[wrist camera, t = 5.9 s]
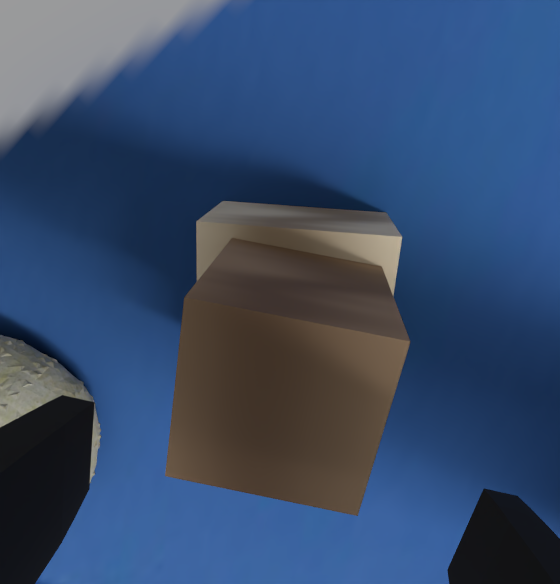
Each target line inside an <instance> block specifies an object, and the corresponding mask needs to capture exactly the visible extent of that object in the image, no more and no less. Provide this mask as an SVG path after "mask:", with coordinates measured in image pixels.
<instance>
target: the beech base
mask: <svg viewBox="0 0 560 584" xmlns="http://www.w3.org/2000/svg"><path fill="white" fill-rule="evenodd" d="M231 238H236V239H241V240H246V241H251V242H257V243H262V244H267V245H272V246H277V247H283V248H288V249H293V250H298V251H303V252H309V253H314V254H319V255H324V256H329V257H335V258H340V259H345V260H350V261H355V262H361V263H366V264H371V265H376V266H381V267H382V268H383V271H384V273H385V276H386V279H387V281H388V284H389V287H390V289H391V292H392V294H393V295H394V288H395V282H396V275H397V268H398V262H399V255H400V248H401V242H402V236H401V234H400V233H399V231H398V230H397V228H396V227H395V225H394V224H393V222H392V221H391V219H390V217H389V216H388V214H387V213H384V212H371V211H357V210H343V209H329V208H315V207H302V206H288V205H274V204H260V203H247V202H233V201H222V202H221V203H219V204H218V205H217V206H216V207H214V208H213V209H212V210H210V211H209V212H208V213H206V214H205V215H204V216H203V217H201V218H200V219H199V220H197V221H196V243H197V281H198V280H199V278H200V277H201V276H202V275H203V273H204V272H205V271H206V270H207V268H208V267H209V266H210V265H211V263H212V262H213V261H214V260H215V258H216V257H217V256H218V255H219V253H220V252H221V251H222V250H223V248H224V247H225V246H226V245H227V243H228V242H229V241H230V240H231Z"/></svg>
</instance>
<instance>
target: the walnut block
mask: <svg viewBox="0 0 560 584" xmlns="http://www.w3.org/2000/svg"><path fill="white" fill-rule="evenodd" d="M409 345H410V339H409V337H408V334H407V331H406V329H405V326H404V323H403V321H402V318H401V315H400V313H399V310H398V308H397V305H396V302H395V300H394V297H393V294H392V292H391V289H390V287H389V284H388V281H387V279H386V276H385V273H384V271H383V268H382V267H381V266H376V265H371V264H366V263H361V262H355V261H350V260H345V259H340V258H335V257H329V256H324V255H319V254H314V253H309V252H303V251H298V250H293V249H288V248H283V247H277V246H272V245H267V244H262V243H257V242H251V241H246V240H241V239H236V238H231V240H230V241H229V242H228V243H227V245H226V246H225V247H224V248H223V250H222V251H221V252H220V253H219V255H218V256H217V257H216V258H215V260H214V261H213V262H212V263H211V265H210V266H209V267H208V268H207V270H206V271H205V272H204V273H203V275H202V276H201V277H200V278H199V280H198V281H197V282H196V283H195V285H194V286H193V287H192V288H191V290H190V291H189V292H188V293H187V295H186V296H185V297H184V305H183V315H182V324H181V333H180V343H179V352H178V361H177V371H176V380H175V390H174V399H173V408H172V418H171V427H170V436H169V446H168V455H167V464H166V474H165V476H168V477H173V478H177V479H182V480H187V481H192V482H197V483H202V484H206V485H211V486H216V487H221V488H226V489H231V490H235V491H240V492H245V493H250V494H255V495H260V496H264V497H269V498H274V499H279V500H284V501H289V502H293V503H298V504H303V505H308V506H313V507H318V508H322V509H327V510H332V511H337V512H342V513H347V514H351V515H356V516H358V513H359V509H360V506H361V503H362V500H363V496H364V493H365V490H366V486H367V483H368V480H369V477H370V473H371V470H372V467H373V463H374V460H375V457H376V453H377V450H378V447H379V444H380V440H381V437H382V434H383V430H384V427H385V424H386V420H387V417H388V414H389V411H390V407H391V404H392V401H393V397H394V394H395V391H396V388H397V384H398V381H399V378H400V374H401V371H402V368H403V364H404V361H405V358H406V355H407V351H408V348H409Z"/></svg>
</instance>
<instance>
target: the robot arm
mask: <svg viewBox="0 0 560 584" xmlns="http://www.w3.org/2000/svg"><path fill="white" fill-rule="evenodd" d="M93 419H94V402H91V401H87V400H82V399H78V398H73V397H69V396H64V395H61V396H59V397H57V398H55V399H53V400H51V401H49V402H47V403H45V404H43V405H41V406H40V407H38V408H36V409H34V410H32V411H30V412H28V413H26V414H24V415H23V416H21V417H19V418H17V419H15V420H13V421H11V422H10V423H8V424H6V425H4V426H2V427H0V584H35V583H36V581H37V580H38V578H39V576H40V575H41V573H42V572H43V570H44V569H45V567H46V566H47V564H48V563H49V561H50V560H51V558H52V557H53V555H54V554H55V552H56V550H57V549H58V547H59V546H60V544H61V543H62V541H63V539H64V537H65V535H66V533H67V531H68V530H69V528H70V526H71V524H72V522H73V520H74V518H75V516H76V514H77V512H78V510H79V508H80V506H81V504H82V502H83V500H84V498H85V496H86V494H87V492H88V490H89V485H90V468H91V452H92V435H93ZM448 577H449V584H560V539H559V538H558V537H557V535H556V534H555V533H554V532H553V531H552V530H551V529H550V528H549V527H548V526H547V525H546V524H545V523H544V522H543V521H542V520H541V519H540V518H539V517H538V516H537V515H536V514H535V513H534V512H533V511H532V510H531V509H530V508H529V507H528V506H527V505H526V504H525V503H524V502H523V501H522V500H521V499H520V498H519V497H518V496H515V495H510V494H506V493H501V492H497V491H492V490H488V489H483V492H482V494H481V496H480V498H479V501H478V503H477V505H476V507H475V510H474V512H473V514H472V516H471V518H470V521H469V523H468V525H467V527H466V530H465V532H464V534H463V536H462V539H461V541H460V543H459V545H458V548H457V550H456V552H455V554H454V556H453V559H452V561H451V563H450V565H449V568H448Z"/></svg>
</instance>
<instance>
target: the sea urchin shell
mask: <svg viewBox="0 0 560 584" xmlns="http://www.w3.org/2000/svg"><path fill="white" fill-rule="evenodd" d="M61 395H64V396H69V397H73V398H78V399H82V400H87V401H91V402H94V400H93V397H92V396H91V395H90V394H89V393H88V391H87V389H86V388H85V387H84V386H83V382H82V381H79V380H78V379H77V378H75V377H74V376H73V375H72V374H71V373H70V372H68V371H67V370H66V369H65V368H64V367H63V366H62V365H61V364H59V363H58V362H57V360H56V359H54V358H51V357H48V356H47V355H46V354H43V353H41V352H39V351H38V350H36V349H34V348H33V347H31V346H29V345H27V344H26V343H25V342H24V341H23V340H18V339H13V338H10V337H7V336H3V335H0V427H2V426H4V425H6V424H8V423H10V422H11V421H13V420H15V419H17V418H19V417H21V416H23V415H24V414H26V413H28V412H30V411H32V410H34V409H36V408H38V407H40V406H41V405H43V404H45V403H47V402H49V401H51V400H53V399H55V398H57V397H59V396H61ZM100 431H101V429H100V423H99V422H98V418H97V413H96V409H95V403H94V419H93V435H92V452H91V468H90V481H91V478H92V476H93V475H95V471H94V470H95V467H96V463H97V451H98V448H99V446H100V442H99V440H100V438H101V435H100ZM90 483H91V482H90Z"/></svg>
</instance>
